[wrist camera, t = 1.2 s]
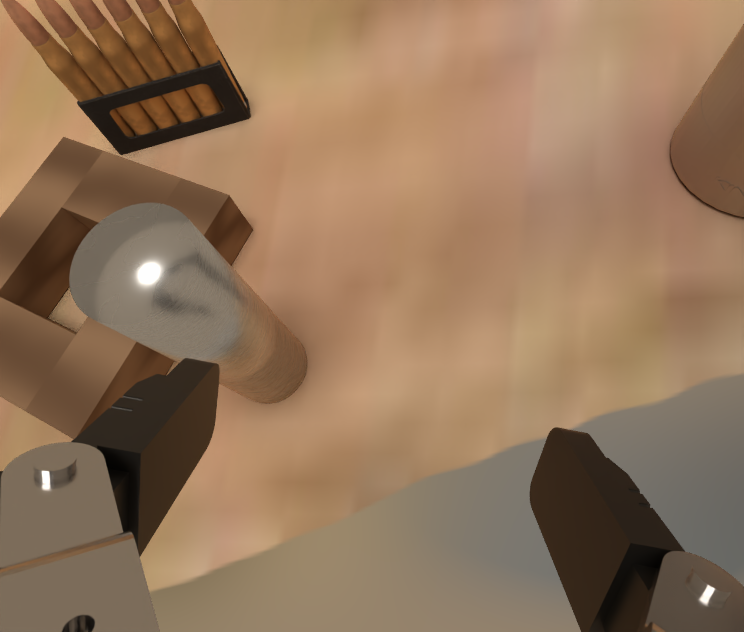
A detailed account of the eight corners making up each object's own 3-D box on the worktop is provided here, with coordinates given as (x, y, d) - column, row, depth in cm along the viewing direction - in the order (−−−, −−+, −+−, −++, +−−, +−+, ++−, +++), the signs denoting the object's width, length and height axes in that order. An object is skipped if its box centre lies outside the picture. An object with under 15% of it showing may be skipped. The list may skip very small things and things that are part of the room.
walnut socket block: (101, 173, 36) (63, 136, 33) (253, 229, 33) (229, 195, 29) (-35, 358, 32) (-96, 340, 28) (122, 446, 28) (74, 439, 25)
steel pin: (257, 320, 30) (120, 187, 17) (319, 346, 29) (223, 226, 16) (220, 385, 29) (43, 295, 16) (284, 416, 28) (148, 346, 15)
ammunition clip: (248, 100, 37) (166, -69, 26) (251, 118, 36) (168, -48, 25) (119, 137, 37) (-15, -14, 26) (120, 155, 37) (-18, 8, 26)
